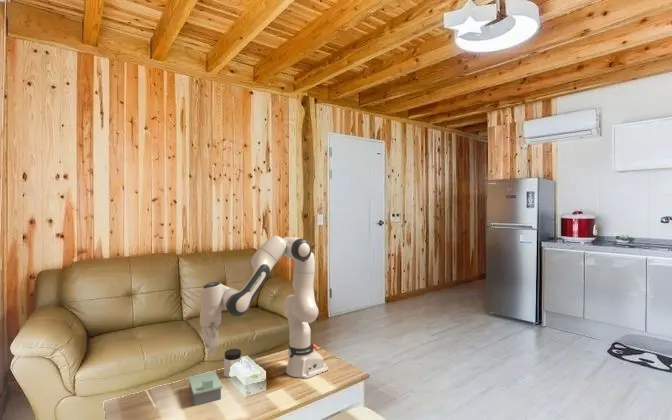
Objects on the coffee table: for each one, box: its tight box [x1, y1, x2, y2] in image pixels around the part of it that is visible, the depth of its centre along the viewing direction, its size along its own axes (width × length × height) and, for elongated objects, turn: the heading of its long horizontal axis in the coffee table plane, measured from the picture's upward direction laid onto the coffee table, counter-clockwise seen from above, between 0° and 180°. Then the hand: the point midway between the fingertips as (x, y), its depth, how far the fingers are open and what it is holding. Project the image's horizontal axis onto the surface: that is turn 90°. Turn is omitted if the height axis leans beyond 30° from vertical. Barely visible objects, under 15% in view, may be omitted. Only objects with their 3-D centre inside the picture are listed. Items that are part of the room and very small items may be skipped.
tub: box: [188, 384, 222, 407], centre depth 161 cm, size 11×15×6 cm
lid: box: [187, 370, 223, 395], centre depth 161 cm, size 12×16×4 cm
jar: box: [223, 348, 242, 378], centre depth 181 cm, size 9×8×12 cm
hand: (209, 350), depth 156 cm, fingers open, 8 cm apart
